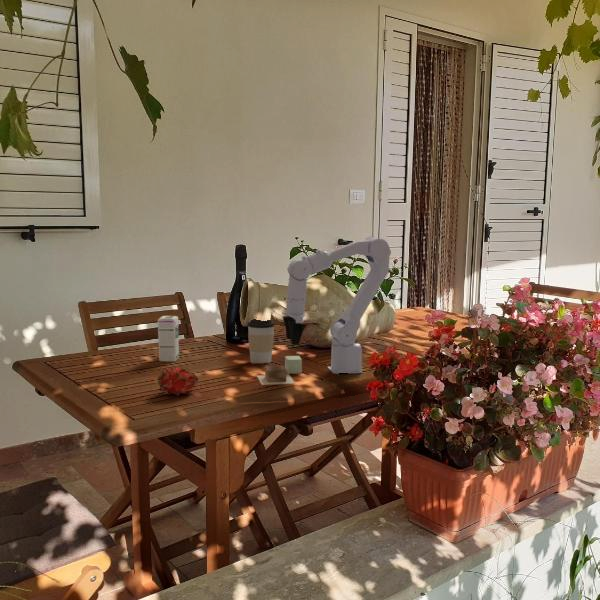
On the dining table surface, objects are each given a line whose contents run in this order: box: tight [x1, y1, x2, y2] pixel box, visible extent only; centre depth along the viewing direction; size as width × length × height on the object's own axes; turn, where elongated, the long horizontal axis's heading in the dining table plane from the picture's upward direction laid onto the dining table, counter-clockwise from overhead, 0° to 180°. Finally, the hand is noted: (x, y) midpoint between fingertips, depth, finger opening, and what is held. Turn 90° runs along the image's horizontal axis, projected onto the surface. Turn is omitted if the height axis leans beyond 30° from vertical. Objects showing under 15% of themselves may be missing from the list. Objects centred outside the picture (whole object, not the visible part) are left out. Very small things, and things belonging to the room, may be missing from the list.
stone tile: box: [256, 373, 296, 386], centre depth 196 cm, size 10×10×1 cm
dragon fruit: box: [156, 366, 199, 397], centre depth 181 cm, size 8×8×12 cm
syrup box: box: [157, 315, 180, 362], centre depth 218 cm, size 6×6×14 cm
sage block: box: [284, 355, 303, 375], centre depth 205 cm, size 4×4×5 cm
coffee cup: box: [247, 319, 276, 364], centre depth 217 cm, size 9×9×15 cm
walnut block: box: [264, 365, 287, 382], centre depth 195 cm, size 6×6×4 cm
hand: (292, 341), depth 203 cm, fingers open, 7 cm apart
